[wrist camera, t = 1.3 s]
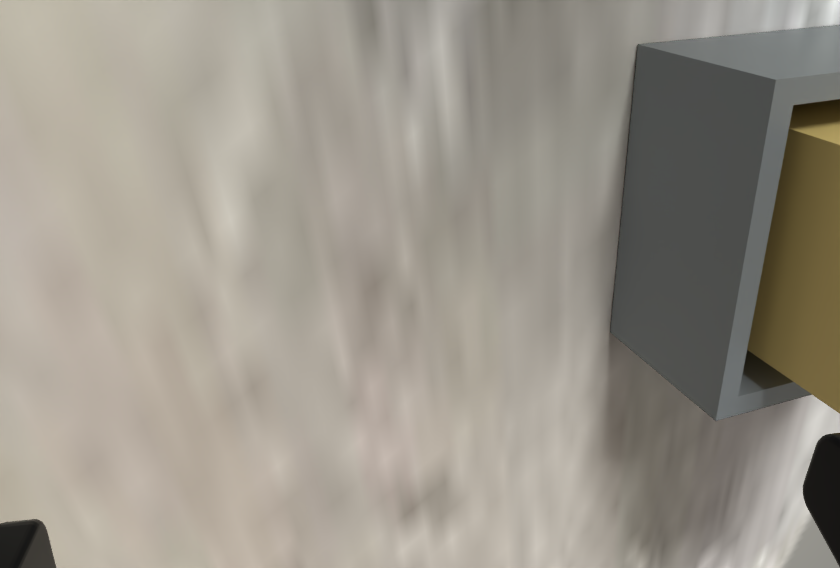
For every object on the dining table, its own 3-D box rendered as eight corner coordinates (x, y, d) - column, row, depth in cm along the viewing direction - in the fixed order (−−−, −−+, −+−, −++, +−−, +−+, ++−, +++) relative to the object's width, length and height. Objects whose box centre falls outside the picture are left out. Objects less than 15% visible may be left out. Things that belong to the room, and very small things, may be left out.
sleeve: (610, 332, 24) (715, 420, 20) (638, 44, 21) (776, 79, 16) (828, 283, 27) (962, 353, 23) (889, 20, 23) (1064, 45, 19)
